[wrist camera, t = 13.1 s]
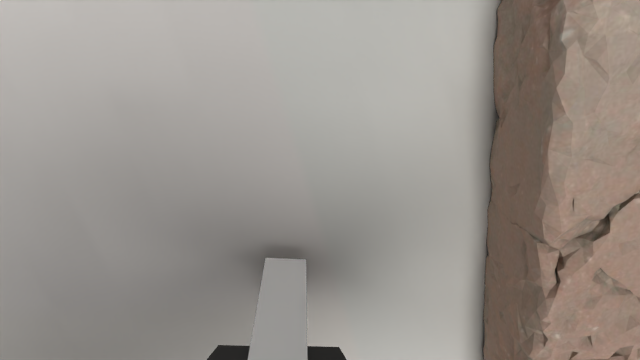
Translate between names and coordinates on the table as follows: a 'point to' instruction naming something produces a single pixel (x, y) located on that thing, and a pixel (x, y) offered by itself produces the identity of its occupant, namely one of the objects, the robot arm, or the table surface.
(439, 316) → the table surface
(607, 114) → the brick
